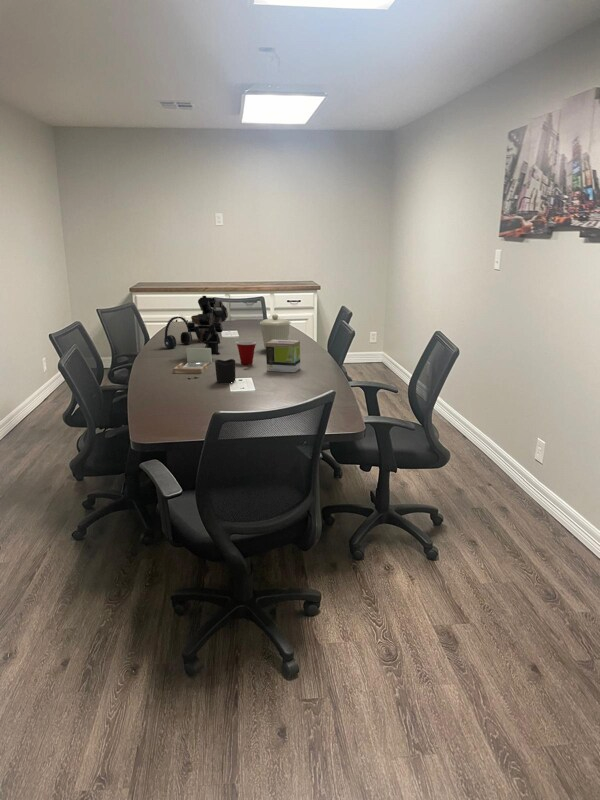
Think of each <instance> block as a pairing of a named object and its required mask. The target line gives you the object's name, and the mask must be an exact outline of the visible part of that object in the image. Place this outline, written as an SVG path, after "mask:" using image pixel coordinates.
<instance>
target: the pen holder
mask: <svg viewBox="0 0 600 800" xmlns="http://www.w3.org/2000/svg"><path fill="white" fill-rule="evenodd" d="M214 366H215V375H216V382H217V383H218V384H220V383H230V384H232V383H231V382H233V383H235V382H236V360H235V359H234V358H230V359H226V360H223V359H215V361H214ZM234 381H235V382H234Z"/></svg>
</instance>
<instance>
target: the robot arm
mask: <svg viewBox="0 0 600 800" xmlns="http://www.w3.org/2000/svg"><path fill="white" fill-rule="evenodd" d="M197 303H198V305H199V309H200V310H201V313H198V314H197V315H198V320H199V324H200V325H198V324H195V322H192V321H191V322H187V323H188V324H187V326H186V328H188V329H187V331H188V330H189V332H191V333H195V334H196V333H197V336H196V338H197V337H198V338H197V341H198V342H200V341H199V339H200V334H201V332H200V329H205V331H204V333H203V336H202V337H203V342H202V343H203V345H205V346H204V348H211V356H213V355H220V354H221V353H220V352H219V345H220V344H221V338H220V336H219V333H222V332H223V330H224V329H223V325H222V323H223V322H226V320H227V318H228V316H229V313H228V309H227V307H226V306H225V305H224V303H223V301H222V300H217V298H216V297H214V296H213V297H212V296H210V297H207V295H202V296H201V297H200V298H198V300H197ZM212 315H213V317H214V320H213V322H212ZM211 323H212V324H211Z"/></svg>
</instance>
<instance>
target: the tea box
mask: <svg viewBox="0 0 600 800" xmlns="http://www.w3.org/2000/svg"><path fill="white" fill-rule="evenodd" d="M265 355H266V356H265V357H266V358H265V359H266V371H269V372H281V373H296V372H298V371H299V370H300V369H301V343H300V340H298V339H297V340H295V339H294V340H292V339H288V340H271V341H269V342H267V343H266V349H265Z"/></svg>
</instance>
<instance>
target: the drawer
mask: <svg viewBox="0 0 600 800" xmlns="http://www.w3.org/2000/svg"><path fill="white" fill-rule="evenodd" d="M212 356H213V355H211V348H205V347H186V360H187V363H186V364H185V365H184V364H183V365H184V366H183V367H182V368H181V369H200V368H201V367H188V363H189V362H192V361H202V362H204V364H206V363H208V365H209V364H212V363H213V361H212V359H213V358H212Z"/></svg>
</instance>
